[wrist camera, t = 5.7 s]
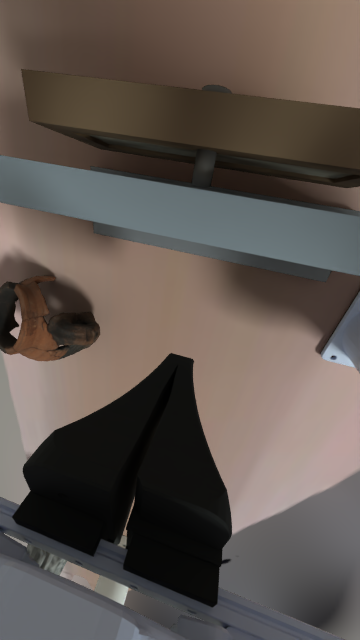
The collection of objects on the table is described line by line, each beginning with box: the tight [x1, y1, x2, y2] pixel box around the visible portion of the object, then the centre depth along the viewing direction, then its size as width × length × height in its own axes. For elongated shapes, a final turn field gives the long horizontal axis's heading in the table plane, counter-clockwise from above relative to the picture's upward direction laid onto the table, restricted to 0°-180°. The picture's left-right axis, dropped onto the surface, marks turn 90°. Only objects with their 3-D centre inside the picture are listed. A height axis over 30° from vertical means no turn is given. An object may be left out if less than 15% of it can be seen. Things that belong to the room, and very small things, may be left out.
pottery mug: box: [0, 276, 100, 361], centre depth 24 cm, size 12×10×8 cm
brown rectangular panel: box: [21, 69, 360, 188], centre depth 11 cm, size 16×3×6 cm, turn 81°
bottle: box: [94, 535, 129, 605], centre depth 50 cm, size 8×8×28 cm
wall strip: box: [0, 155, 360, 282], centre depth 14 cm, size 20×5×10 cm, turn 81°
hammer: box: [27, 544, 67, 575], centre depth 51 cm, size 15×10×30 cm
